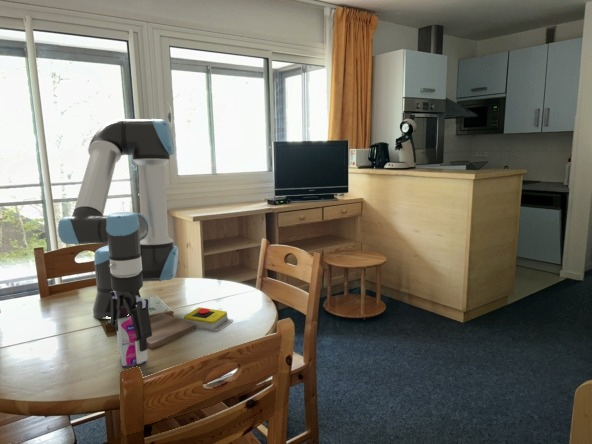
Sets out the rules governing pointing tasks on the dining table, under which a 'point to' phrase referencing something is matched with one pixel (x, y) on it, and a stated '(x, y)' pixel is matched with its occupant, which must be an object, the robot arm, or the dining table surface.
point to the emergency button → (208, 319)
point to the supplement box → (127, 342)
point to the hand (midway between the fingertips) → (132, 356)
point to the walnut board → (167, 329)
